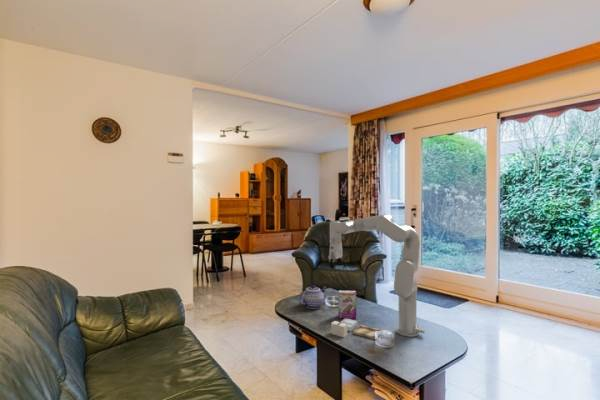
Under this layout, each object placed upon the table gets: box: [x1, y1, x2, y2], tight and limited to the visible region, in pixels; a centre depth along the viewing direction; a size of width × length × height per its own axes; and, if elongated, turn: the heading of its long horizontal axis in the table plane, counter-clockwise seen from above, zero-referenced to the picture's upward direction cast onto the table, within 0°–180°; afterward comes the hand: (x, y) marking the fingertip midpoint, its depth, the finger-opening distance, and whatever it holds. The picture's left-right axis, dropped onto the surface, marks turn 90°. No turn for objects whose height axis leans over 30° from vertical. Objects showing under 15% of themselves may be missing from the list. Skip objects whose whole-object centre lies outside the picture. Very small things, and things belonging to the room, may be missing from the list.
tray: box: [352, 324, 383, 340], centre depth 167 cm, size 13×9×2 cm
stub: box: [330, 320, 348, 338], centre depth 167 cm, size 8×4×6 cm, turn 56°
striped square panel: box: [340, 318, 359, 332], centre depth 176 cm, size 8×10×2 cm
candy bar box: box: [338, 290, 357, 320], centre depth 189 cm, size 11×5×16 cm, turn 84°
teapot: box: [297, 284, 327, 310], centre depth 208 cm, size 25×15×15 cm, turn 124°
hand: (335, 266), depth 193 cm, fingers open, 9 cm apart
